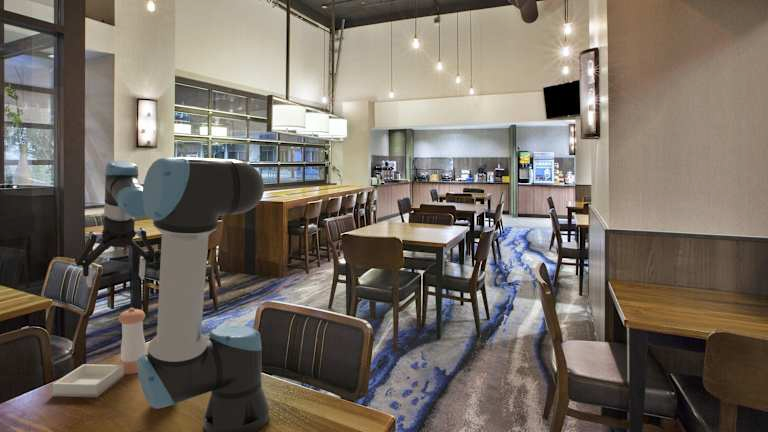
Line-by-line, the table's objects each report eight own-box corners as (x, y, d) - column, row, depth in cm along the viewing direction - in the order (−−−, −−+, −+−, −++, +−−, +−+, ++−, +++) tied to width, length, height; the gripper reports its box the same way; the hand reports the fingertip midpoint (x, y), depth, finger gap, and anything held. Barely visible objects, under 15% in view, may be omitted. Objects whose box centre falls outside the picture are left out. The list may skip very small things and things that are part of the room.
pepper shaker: (144, 361, 138) (141, 303, 136) (150, 369, 133) (148, 308, 131) (117, 368, 133) (115, 307, 131) (123, 376, 128) (120, 313, 126)
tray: (97, 397, 116) (96, 384, 116) (53, 396, 116) (52, 383, 116) (124, 376, 128) (123, 365, 128) (84, 375, 128) (83, 364, 128)
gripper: (162, 208, 133) (157, 268, 140) (62, 212, 115) (62, 281, 122) (171, 218, 128) (165, 280, 135) (68, 224, 111) (67, 295, 118)
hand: (116, 281), depth 129 cm, fingers open, 13 cm apart
